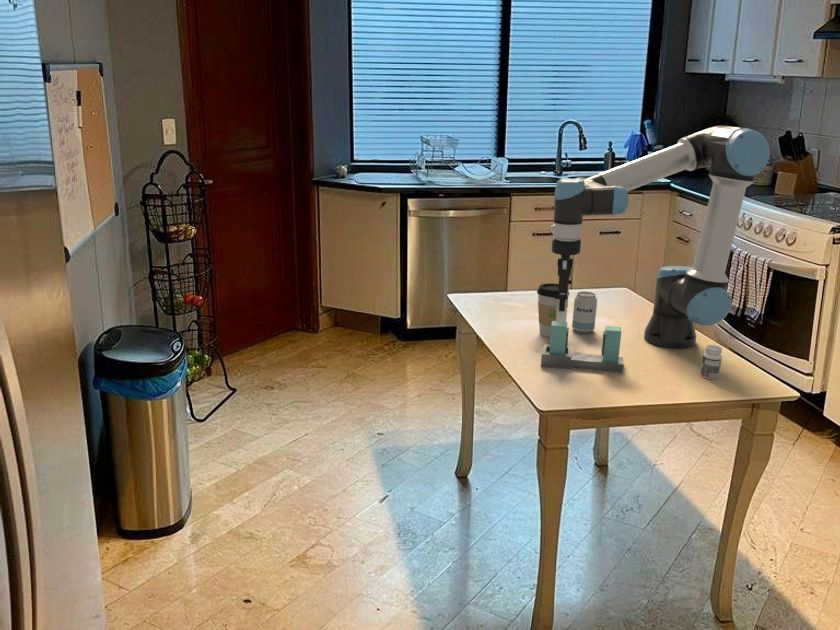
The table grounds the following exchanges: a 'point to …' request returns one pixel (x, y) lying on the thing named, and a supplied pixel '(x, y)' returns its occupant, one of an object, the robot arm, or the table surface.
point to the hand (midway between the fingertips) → (561, 314)
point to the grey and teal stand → (589, 355)
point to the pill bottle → (711, 362)
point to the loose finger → (559, 338)
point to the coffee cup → (547, 307)
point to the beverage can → (584, 312)
